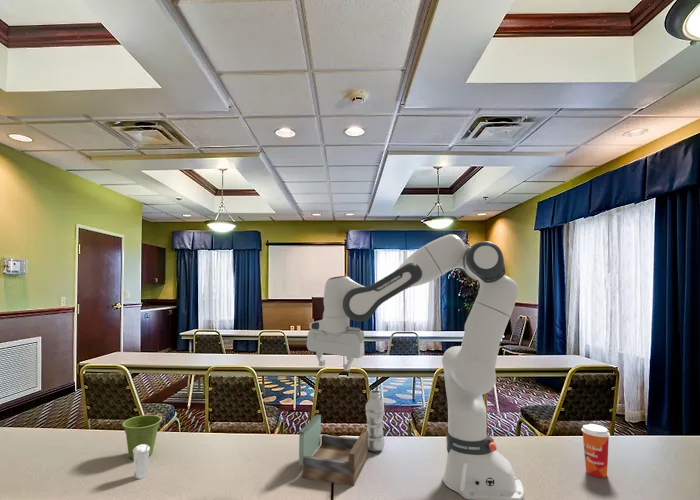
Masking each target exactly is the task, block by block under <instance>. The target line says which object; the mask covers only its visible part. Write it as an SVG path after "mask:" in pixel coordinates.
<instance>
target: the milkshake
mask: <svg viewBox="0 0 700 500" xmlns="http://www.w3.org/2000/svg"><path fill="white" fill-rule="evenodd" d="M149 451H150V447H149V446H148V445H145V444H141V445H138V446H136V447H135V448H134V449H133V458H134V459H133V472H134V473H133V475H134V479H135V480H141V479H144V478H146V477H147V473H148V463H149V457H150V456H149Z"/></svg>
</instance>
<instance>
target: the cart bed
mask: <svg viewBox="0 0 700 500" xmlns="http://www.w3.org/2000/svg"><path fill="white" fill-rule="evenodd" d="M368 454H369V451H368V431H367V430H362V432H361V434H360V435H359V436H358V438H355V437H346V436H339V435H338V436H337V435H331V434H330V435H329V434H322V435H321V445H320V446H319V447H318V448H317V450H316V451H315V452H314V453H313V455H312V456H311V457H310V456H304V457H303V466H302V479H306V480H307V479H309V480H315V481H322V482H328V483H332V484H333V483H335V484H340V485H346V486H348V485H349V486H352V487H353V486H355V485H356V482H357V481H358V479H359V476H360V475H361V473H362V471H363V468H364V467H365V465H366V463H367V461H368V456H369V455H368Z"/></svg>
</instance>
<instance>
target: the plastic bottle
mask: <svg viewBox="0 0 700 500" xmlns="http://www.w3.org/2000/svg"><path fill="white" fill-rule="evenodd" d="M381 397H382V396H381V391H380V390H377V389H376V390H375V389H374V390H370V391H369V400H368V401H367V402H366V403H365V414H366V431H368V450H369V451H371V452H380V451H382V450H383V449H384V447H385V444H386V443H385V437H384V429H383V428H384V427H383V421H384V411H385V406H384V404H383V401H382V400H381Z"/></svg>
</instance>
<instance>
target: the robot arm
mask: <svg viewBox="0 0 700 500" xmlns="http://www.w3.org/2000/svg"><path fill="white" fill-rule="evenodd" d="M505 265H506V264H505V259H504V254H503V252H502V249H501V248H500V247H499V246H498V245H497V244H495V243H493V242H492V241H487V240H485V241H482V240H481V241H478V242H475V243H474V244H472V245H471V246H470V245H467V244H466V243H465V242H464V240H463V239H462V238H461V237H459V236H458V235H456V234H452V233H451V234H450V233H449V234H447V235H444V236H440V237H439V238H436V239H434V240H432V241H430V242H428V243H427V244H425V245H423V246H421V247H420V248H418V249H417V250H415V251H414V252H413V253H412V254H410V255H409V256H408V257H407V258H406V259H405V260H404V261H403V263H402V264H401V265H400V266H399V267H398V268H396V269H395V270H394V271H393V272H391V273H390V274H388V275H386V276H384V277H383V278H381V279H379V280H378V281H376V282H374V283H371V284H370V285H367V286H366V285H365V286H364V285H362V284H360V283H358V282H356V281H354V280H353V279H351V277H350V276H348V275H340V276H334V277H330V278H328V279H327V280H326V282H325V285H324V291H323V307H324V309H323V310H324V311H323V313H322V319H319V320H316V321H312V322H309V325H308V328H309V331H308V332H307V337H306V339H307V340H306V348H307V350H308V351H310V352H314V353H315V356H316V358H317V361H318V366H319V367H326V359H324V358H323V355H324V354H329V355H333V356H334V355H335V356H340V357H345V358H346V360H347V362H346V363H345V364H343V371H346V372H349V371H350V370H351V365H352V363H353V361H354V360H355V359H361V358H363V356H364V355H365V333H364V331H363V330H362V329H361V328H360V327H352V326H350V320H351V321H354V322H359V323H360V322H365V321H368V320H369V319H370V318H371V317H372V316H373V315H374V313H375V312H376V311H377V309H378V308H379V307H380V306H381V305H383V303H384V302H387V301H388V300H390V299H391V298H393V297H395V296H396V295H398V294H400V293H402V292H403V291H406V290H408V289H410V288H412V287H413V288H414V287H417V286H421V285H422V286H423V285H424V284H427V283H430V282H432V281H434V280H436V279H439V278H440V277H442V276H443V275H445V274H447V273H448V272H450V271H453V270H455V269H459V270H460V271H461V272H462V273H463V274H464V275H465V276H466V277H468V278H469V279H471V280H473V281H476V282H479V291H478V293H477V296H476V298H475V300H474V303H473V305H472V307H471V310H470V312H469V313H468V316H467V319H466V321H465V323H464V333H463V339H462V343H461V345H458V346H457V345H455V346H451V347H449V348H448V349H446V350H445V351H444V353H443V355H442V359H441V360H442V361H441V363H442V368H443V373H444V374H443V378H444V386H445V392H446V400H447V423H448V424H447V426H448V427H447V429H448V430H447V431H446V435H445V438H446V440H445V441H446V442H445V444H446V445H445V446H446V447H445V448H446V452H447V455H446V463H445V469H444V473H443V476H442V481H443V483H444V485H445V486H447V487H448V489H451V490H453V491H454V492H455V493H458V494H459V495H460V496H462V498H464V499H465V500H523V499H524V497H525V490H524V486H523V483H522V482H521V480H520V479H519V477H517V476H515V472H514V468H513V467H512V464H511V463H510V461H509V460H508V459H507V458H506V457H504V456H503V455H502V454H501V453H499V452H498V451H497V450H498V449H497V444H496V443H495V442H494V441H495V439H493V436H492V435H491V434H490V435H488V434H487V407H486V404H485V401H484V395H485V394H488V393H489V392H491V391H492V389H493V388H494V387H495V385H496V382H497V374H496V366H497V365H496V364H497V359H498V354H499V350H500V348H499V347H500V345H501V340H502V338H503V335H504V333H505V330H506V328H507V326H508V323H509V321H510V319H511V317H512V314H513V311H514V309H515V306H516V305H515V304H516V301H517V297H518V292H519V286H518V284H517V282H516V281H515V280H513V278H511V277H510V276H507V275H506V268H505Z"/></svg>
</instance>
